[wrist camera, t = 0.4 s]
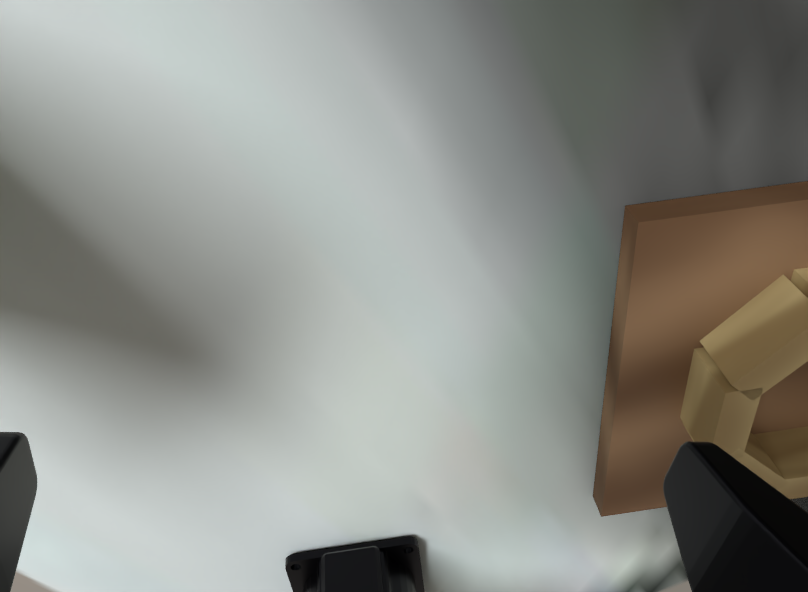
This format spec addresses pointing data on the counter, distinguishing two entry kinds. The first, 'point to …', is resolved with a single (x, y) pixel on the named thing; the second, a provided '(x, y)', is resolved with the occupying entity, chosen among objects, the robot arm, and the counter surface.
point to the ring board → (678, 311)
